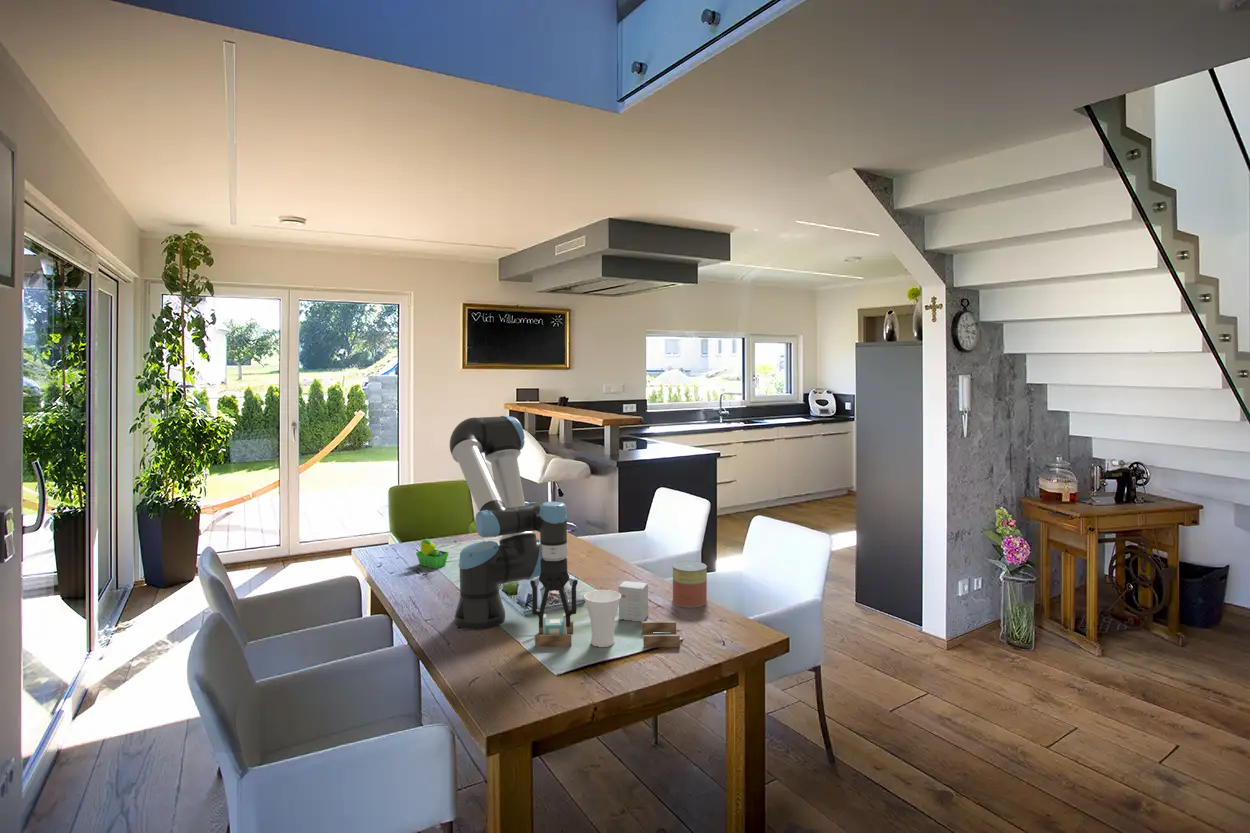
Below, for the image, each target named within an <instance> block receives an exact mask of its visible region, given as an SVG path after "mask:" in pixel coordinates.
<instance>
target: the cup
mask: <svg viewBox="0 0 1250 833" xmlns="http://www.w3.org/2000/svg"><path fill="white" fill-rule="evenodd" d="M620 598H621V594H620V593H619V591H615V590H611V589H596V590H590V591H588V592H586V593H585V594H584V595H583V600H584V603H585V605H586V609H587V612H588V615H589V619H590V626H591V627H590V628H591V640H590V643H591V645H592V646H594V647H597V646H598V648H605V647H606V648H607V647H611V646H614V644H615V637H614V630H615V620H616V615H617V612H618V609H619V602H620Z"/></svg>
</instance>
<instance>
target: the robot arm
mask: <svg viewBox="0 0 1250 833" xmlns="http://www.w3.org/2000/svg"><path fill="white" fill-rule="evenodd" d="M524 432H525V431H524V428H523V426H522V423H521V422H520V421H519V420H518V419H517V418H516V417H514V416H509V415H508V416H505V415H500V416H486V417H485V416H483V417H482V416H479V417H469V418H466V419H464V420H462V421H461V422H460V423H458V424H457V425H456V427H455V428H454V429H453V431H452V432H451V435H450V439H449V450H450V451H449V452H450V454H451V457H452V458H453V460H454V461H455V462H456V463H457V464H458V465H459V467H460V469H461V471H462V474H463V476H464V479H465V482H466V483H467V487H468V488H469V491H470V494H471V496H472V498H473V500H474V503H475V505H476V509H477V510H478V512H477V513H476V514H475V518H474V520H475V521H474V524H475V529H476V532H477V534H478V536H479V537H481V538H493V537H495V538H496V537H500V539H498V542H499V544H498V542H497V541H492V540H487V541H478V542H474V543H471V544H469V545H466V546H465V547H463V549H462V550H461V551H460V553H459V559H458V560H459V563H458V568H459V599H458V603H457V606H456V610H455V613H454V624H455V626H456V627H459V628H461V629H466V630H486V629H490V628H494V627H497V626H499V625H501V624H502V623H504V622H505V620H506V610H505V606H504V604H503V600H502V599H501V596H500V585H502V584H508V583H513V582H518V581H524V580H526V581H529V580H530V579H531V580H530V583H529V585H530V587H531V589H532V592H531V594H532V595H531V596H532V597H531V600H532V601H531V602H532V603H531V605H532V606H531V607H532V608H531V612H532V615H533V616H535V615H536V616H538V628H539V627H540V628H543V633H542V635H545V624H546V619H547V613H544V612H545V608H546V605H547V601H548V598H549V594H550V592H552V591H556V592H558V593H559V595H560V596H559V597H560V600H561V604H562V607H563V610H564V613H563V615H562V616H563V617H562V618H563V633H564V634H568V633H567V627H570V621H571V616H572V615H576V614H577V604H578V603H577V585H578V581H579V578H578V577H571V576H570V575H569V572H568V558H567V556H568V514H567V513H568V512H567V505H566V504H565V503H564V502H561V501H559V502H558V501H546V502H542V503H541V502H535V501H534V502H533V501H531V502H528V503H527V504H526V501H525V496H524V491H523V484H522V480H521V479H522V478H521V472H520V468H519V462H518V458H519V457H520V455H521V450H523V448H524V447H525V442H526V441H525V433H524ZM483 453H484V456H483ZM484 457H485V458H484ZM486 461H487V462H489V463H490V466H491V471H492V472H491V471H490V469H489V467H488V465H487V462H486ZM491 473H492V474H491ZM535 531H536V532H539V535H540V536H539V537H540V538H537V534H536V532H535ZM568 582H569V586H571V587H570V588H571V593H570V595H571V608H570V605H569V602H568V598H567V595H566V591H565V586H566V584H567V583H568ZM539 584H542V586H543V587H544V592H543V596H542V600H541V604H540V608H538V607H539V606H538V605H539V604H538V603H539V602H538V586H539Z"/></svg>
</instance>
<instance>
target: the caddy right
mask: <svg viewBox="0 0 1250 833" xmlns="http://www.w3.org/2000/svg"><path fill="white" fill-rule="evenodd" d="M653 632H671V633H670V634H654V633H653ZM641 634H643V640H642V641H643V644H642V645H643V646H644V647H643V648H680V646H681V642H680V641H681V638H680V637H681V636H680V634H677V621H675V620H674V621H672V620H671V621H666V620H665V621H643V622H641Z"/></svg>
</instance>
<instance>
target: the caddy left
mask: <svg viewBox="0 0 1250 833" xmlns="http://www.w3.org/2000/svg"><path fill="white" fill-rule="evenodd" d="M573 633H574V621H573V620H570V627H567V634H563V635H543V628H540V627H539V626H538V634H534V647H535V648H570V647H572V634H573Z"/></svg>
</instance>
